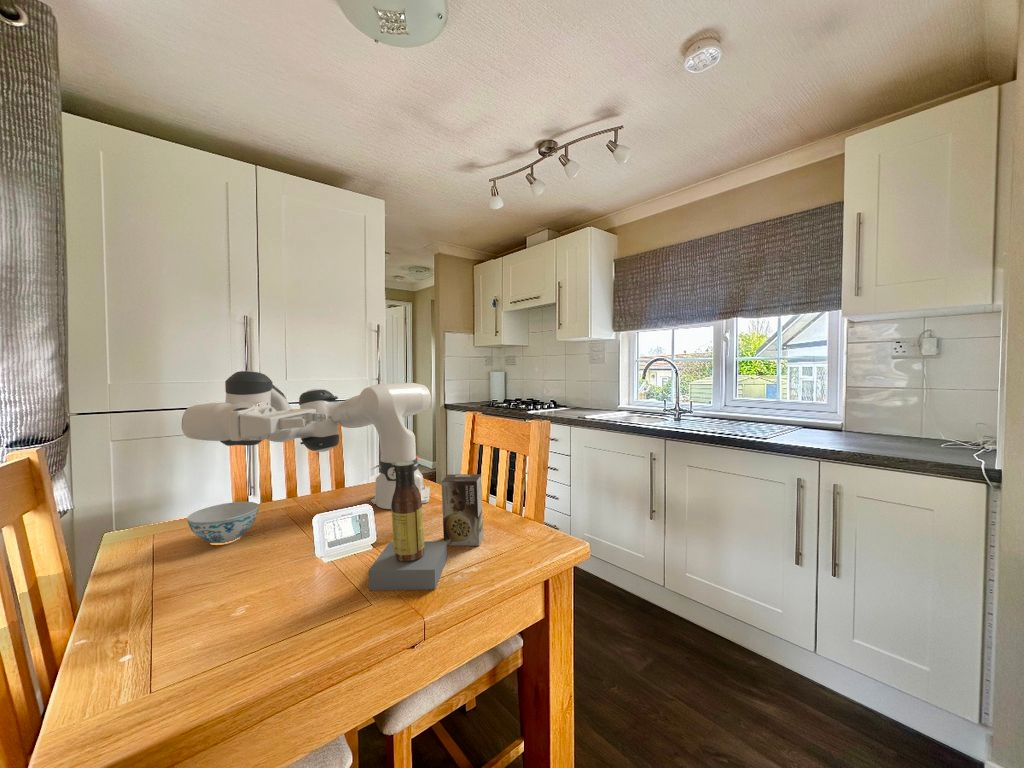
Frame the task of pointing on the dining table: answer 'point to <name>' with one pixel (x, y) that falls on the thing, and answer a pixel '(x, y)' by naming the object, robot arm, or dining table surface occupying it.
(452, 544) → the coffee box
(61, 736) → the dining table surface
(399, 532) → the sauce bottle
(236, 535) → the chinaware
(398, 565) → the stand
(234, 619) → the dining table surface
